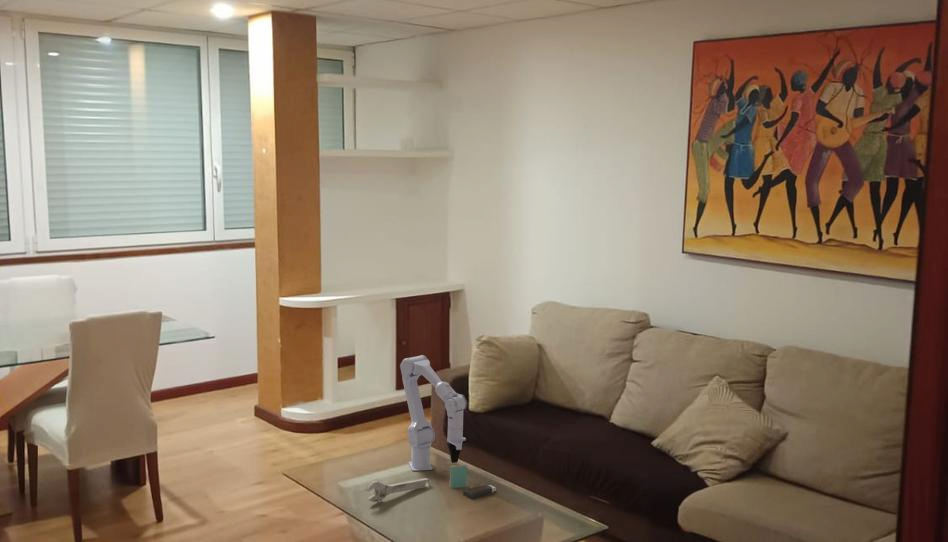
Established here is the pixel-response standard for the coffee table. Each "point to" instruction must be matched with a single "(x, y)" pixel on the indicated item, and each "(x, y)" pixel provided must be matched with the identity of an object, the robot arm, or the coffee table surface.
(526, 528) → the coffee table surface
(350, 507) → the coffee table surface
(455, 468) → the tile
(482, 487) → the usb drive
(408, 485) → the wrench
